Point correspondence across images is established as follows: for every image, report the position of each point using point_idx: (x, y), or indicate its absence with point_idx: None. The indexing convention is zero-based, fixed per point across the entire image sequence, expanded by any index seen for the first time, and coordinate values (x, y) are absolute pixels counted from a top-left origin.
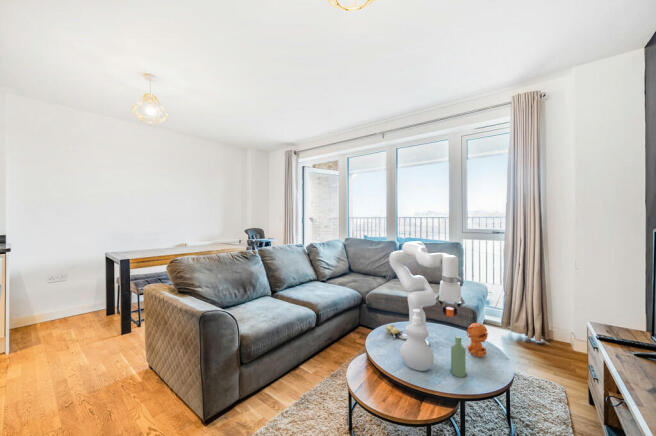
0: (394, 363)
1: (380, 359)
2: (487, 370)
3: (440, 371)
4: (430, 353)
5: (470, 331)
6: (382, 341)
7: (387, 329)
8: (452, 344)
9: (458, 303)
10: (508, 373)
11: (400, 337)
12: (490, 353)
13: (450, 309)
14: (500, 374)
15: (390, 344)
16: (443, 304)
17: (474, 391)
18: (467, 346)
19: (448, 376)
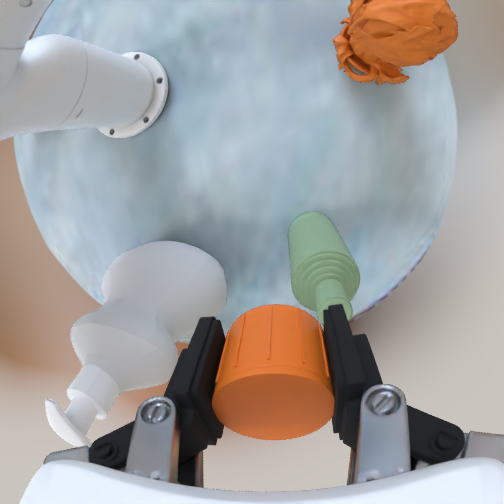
0: None
1: (86, 278)
2: (403, 164)
3: (254, 254)
4: None
5: (376, 35)
6: (41, 168)
7: None
8: (297, 279)
9: (420, 467)
10: (455, 155)
11: None
12: None
13: (285, 435)
14: (436, 173)
15: (62, 170)
16: (182, 470)
17: (356, 306)
18: (333, 41)
19: (283, 271)
